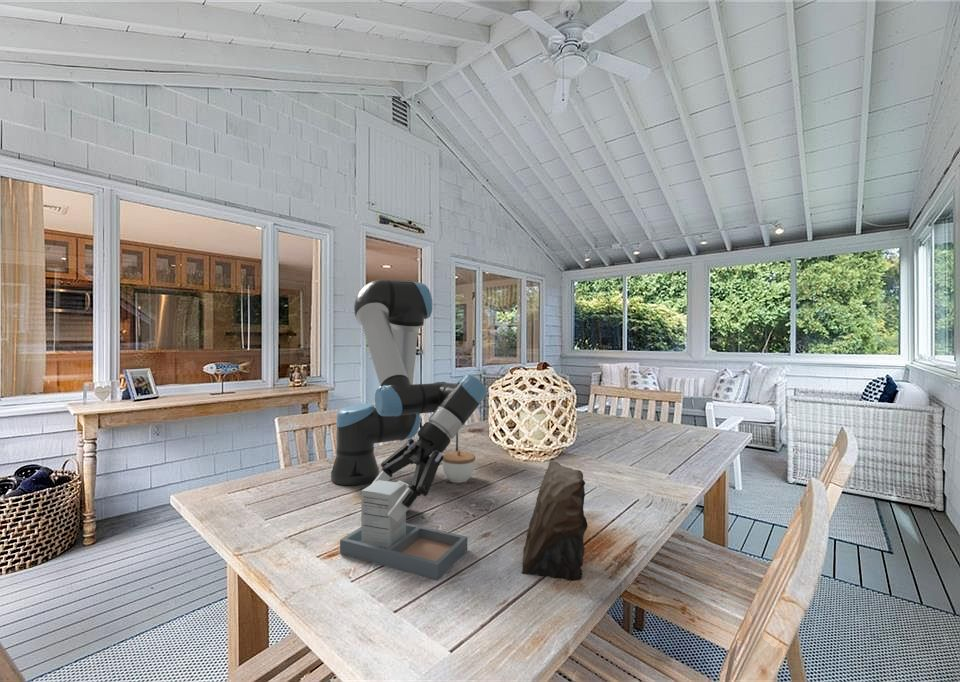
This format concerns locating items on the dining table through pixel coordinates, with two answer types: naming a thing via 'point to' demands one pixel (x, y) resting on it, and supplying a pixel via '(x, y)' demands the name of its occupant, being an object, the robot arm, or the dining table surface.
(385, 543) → the supplement box
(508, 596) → the dining table surface
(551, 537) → the brown rock
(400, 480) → the die
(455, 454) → the lidded jar
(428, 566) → the sorting tray
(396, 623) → the dining table surface
